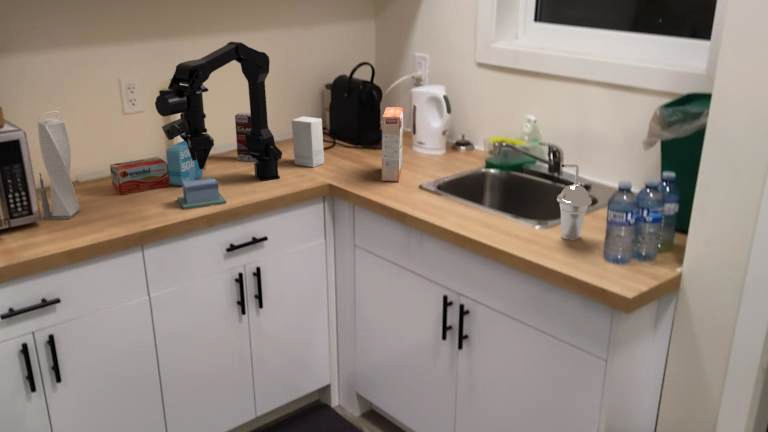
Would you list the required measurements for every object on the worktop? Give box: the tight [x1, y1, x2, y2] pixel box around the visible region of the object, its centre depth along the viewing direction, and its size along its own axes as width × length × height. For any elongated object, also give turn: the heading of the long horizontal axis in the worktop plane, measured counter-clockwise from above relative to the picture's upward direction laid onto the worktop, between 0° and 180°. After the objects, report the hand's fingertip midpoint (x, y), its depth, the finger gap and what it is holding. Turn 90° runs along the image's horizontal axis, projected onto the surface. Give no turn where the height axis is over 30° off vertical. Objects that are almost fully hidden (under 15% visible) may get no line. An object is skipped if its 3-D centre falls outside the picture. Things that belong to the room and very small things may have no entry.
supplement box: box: [234, 112, 256, 163], centre depth 241 cm, size 9×5×16 cm, turn 80°
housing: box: [181, 177, 220, 204], centre depth 203 cm, size 9×5×5 cm, turn 116°
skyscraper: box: [37, 110, 81, 221], centre depth 189 cm, size 8×8×28 cm
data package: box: [166, 140, 203, 187], centre depth 219 cm, size 12×4×12 cm, turn 163°
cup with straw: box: [556, 163, 592, 241], centre depth 178 cm, size 8×9×20 cm
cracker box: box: [381, 106, 404, 182], centre depth 224 cm, size 14×6×21 cm, turn 175°
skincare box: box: [291, 115, 325, 168], centre depth 236 cm, size 8×7×16 cm
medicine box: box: [109, 156, 170, 196], centre depth 214 cm, size 15×8×8 cm, turn 125°
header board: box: [176, 192, 227, 211], centre depth 203 cm, size 12×9×4 cm
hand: (197, 164), depth 200 cm, fingers open, 9 cm apart
